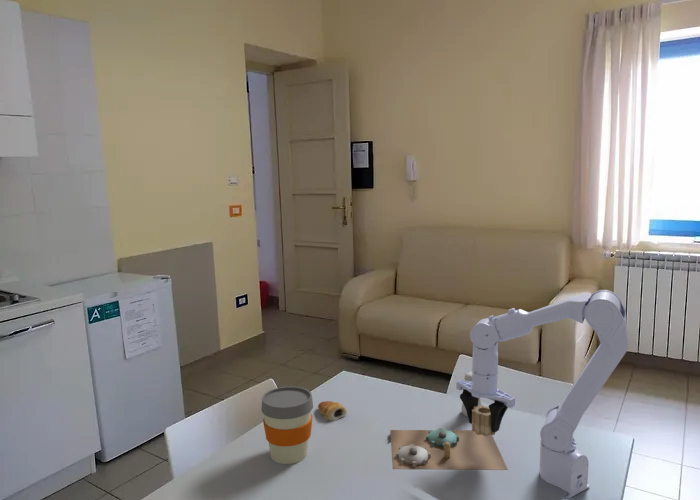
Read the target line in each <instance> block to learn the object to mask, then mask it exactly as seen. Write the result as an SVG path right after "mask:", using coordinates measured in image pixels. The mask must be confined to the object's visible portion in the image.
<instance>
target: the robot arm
mask: <svg viewBox="0 0 700 500" xmlns="http://www.w3.org/2000/svg"><path fill="white" fill-rule="evenodd" d="M625 308H626V307H625V306H624V304H623V302H622V301H621V299H620V297H619V296H618V294H616V293H615V292H613V291H611V290H608V289H600V290H597V291H595V292H593V293H591V292H588V293H582V294H579V295H576V296H572V297H569V298H567V299H563V300H562V301H561V300H560V301H558V302H554V303H552V304H548V305H546V306H542V307H540V308H537V309H534V310H532V311H526V310H524V309H522V308H519V309H516V308H515V307H513V308H509V309H508V310H507V312H506V313H503V314H500V315H497V316H494V315H489V316H488V317H487V318H486V317H485V318H482V319H480V320H479V321H478V322H477V323H476V324H475V325H474V326H473V327H471V329H470V332H469V338H470V341H471V343H472V357H471V359H472V360H471V361H472V362H471V363H472V364H471V365H472V366H471V367H472V369H471V372H472V382H470V381H465V379H458V381H456V382H455V383H456V384H455V385H456V387H455V389H456V390H458V391H462V393H460V395H459V399H460V400H461V401H462V402H461V403H463V404H464V406H465V408H466V411H467V415H468V417H467V418H468V422H469V423H468V424H471V425H472V410H473V407H475V406H476V407H478V400H479V398H481V399H482V398H484V399H488V400H490V401H493V402H492V403H491V404H488V407H489V409H490V413H491V430H492V432H493V433H495V434H496V433H497V432H498V431H500V427H501V424H502V420H503V417H504V415H505V414H506V411H507V410H508V409H512V408H514V407H515V406H516V397H514V396H512V395H510V394H508V393H507V392H505V391H503V390H501V389H500V388H498V380H499V376H498V374H499V351H498V348H499V342H500V343H501V342H506V341H510V340H513V339H516V338H520V337H523V336H527V335H530V334H531V333H532V331H533V328H534V327H538V326H543V325H546V324H550V323H555V322H559V321H563V320H567V319H571V320H572V321H575V322H578V323H580V324H584V321H586V323H587V324H588V325H589V327H591V328H592V330H593V331H594V332H595V333H596V334H597V338H598V340H599V345H598V347H597V348H596V350H595V351H594V353H593V354H592V356H591V357H590V358H589V360H588V361H587V363H586V365H584V368H583V369H582V371H581V372H580V374H579V375H578V377H577V378H576V379H575V381H574V383H573V384H572V386H571V387H570V389H569V390H568V392H567V393H566V395H565V396H564V397H563V399H561V400H560V402H559V403H558V404H557V405H556V406H554V407H551V408H550V409H549V410H548V412H547V413H546V418H545V421H544V424H543V425H542V427H541V429H540V432H539V433H540V435H539V437H540V448H539V450H540V451H539V452H540V453H539V473H538V474H539V477H540V478H541V479H542V480H543V481H544V482H546V483H547V484H551V485H552V486H554V487H555V486H556V487H558V488H560V489H562V490H563V491H564V492H566V493H567V494H566V495H565V496H564V497H563V498H564V499H565V500H567V499H570V498H572V497H574V496H576V495H578V494H579V493H581V492H583V491H585V490H587V489H589V488H590V484H588V483H589V482H588V480H589V477H588V476H589V458H588V457H587V455H585V454H584V453H583V452H581V451H580V449H578V446H577V442H576V440H575V438H574V433H575V431H576V429H577V427H578V426H579V423H580V421H581V419H582V417H583V416H584V414H585V412H586V411H587V410H588V408H589V407H590V405H591V404H592V403H593V401H594V399H595V398H596V397H597V395H598V394H599V392H600V391H601V390H602V388H603V387H604V385H605V383H606V382H607V381H608V379H610V376H611V375H612V373H613V372H614V371H615V369H616V367H617V366H618V364H620V361H621V360H622V358H624V356H625V355H626V353H627V352H628V349H629V344H630V343H629V334H628V333H629V332H628V331H629V330H628V325H627V324H628V323H627V314H626V313H627V312H626V309H625Z"/></svg>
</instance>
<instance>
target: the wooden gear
mask: <svg viewBox="0 0 700 500" xmlns="http://www.w3.org/2000/svg"><path fill="white" fill-rule="evenodd" d="M471 430H472V431H475V432H476V434H477V435H484V436H488V435H492V436H495V435H496V432H495V433H493V432H492V430H491V413H490V409H489V406H487V405H484V404H482V405H480V406H478V407H476V406H475V407H473V410H472V424H471Z"/></svg>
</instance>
